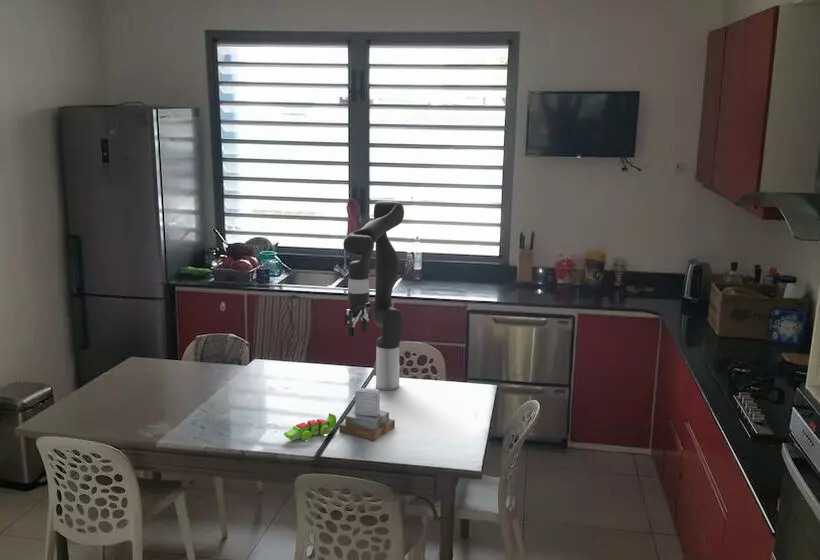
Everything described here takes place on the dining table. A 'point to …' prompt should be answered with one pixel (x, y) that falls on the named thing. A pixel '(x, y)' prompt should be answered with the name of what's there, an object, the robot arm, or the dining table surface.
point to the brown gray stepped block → (367, 425)
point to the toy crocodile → (311, 428)
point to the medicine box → (367, 402)
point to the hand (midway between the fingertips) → (358, 334)
